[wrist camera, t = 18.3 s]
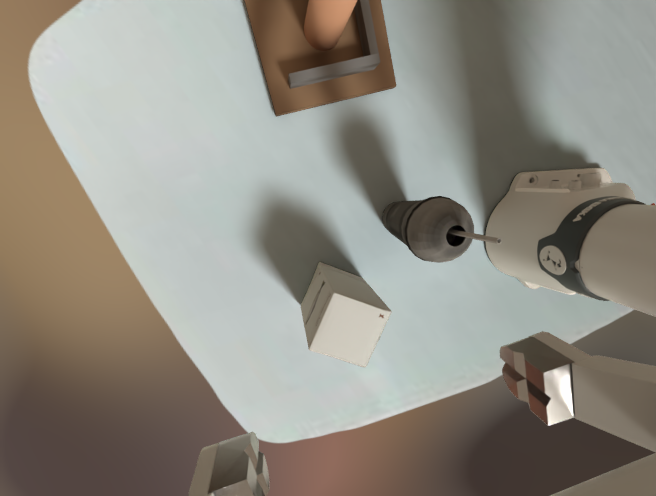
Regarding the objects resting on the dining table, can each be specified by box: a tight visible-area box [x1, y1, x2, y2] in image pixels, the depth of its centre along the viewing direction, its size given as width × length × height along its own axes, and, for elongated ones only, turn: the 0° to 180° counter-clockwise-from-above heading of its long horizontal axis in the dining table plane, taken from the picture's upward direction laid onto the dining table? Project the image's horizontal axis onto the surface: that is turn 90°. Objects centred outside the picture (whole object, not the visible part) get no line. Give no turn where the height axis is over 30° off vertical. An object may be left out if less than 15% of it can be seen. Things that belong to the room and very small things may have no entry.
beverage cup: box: [382, 196, 502, 262], centre depth 36 cm, size 7×7×20 cm
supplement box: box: [301, 262, 392, 367], centre depth 40 cm, size 7×7×13 cm
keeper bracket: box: [244, 0, 396, 116], centre depth 37 cm, size 16×16×4 cm
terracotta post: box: [304, 0, 357, 51], centre depth 32 cm, size 4×4×12 cm
